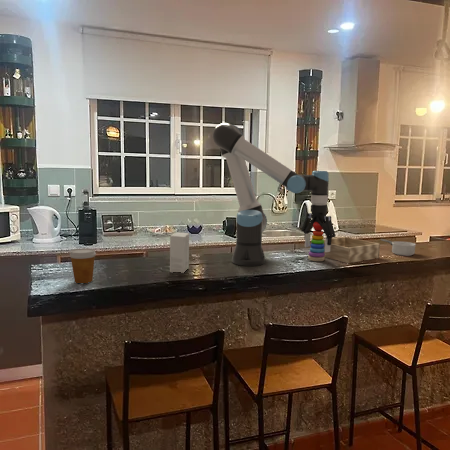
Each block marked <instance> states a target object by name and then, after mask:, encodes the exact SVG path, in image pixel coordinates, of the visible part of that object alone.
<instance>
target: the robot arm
mask: <svg viewBox="0 0 450 450" xmlns="http://www.w3.org/2000/svg"><path fill="white" fill-rule="evenodd" d="M212 140H213V142H214V143H213V144H215V145H216V147H218V148H219V151H220V154H221V157H222V158H225V160H226V163H227V167H228V170H229V174H230V177H231V181H232V184H233V187H234V191H235V193H236V197H237V198H236V199H237V201H238V204H239V207H238V210H237V214H236V217H235V218H236V219H235V221H236V226H235V227H236V230H235V231H236V232H235V234H236V236H235V237H236V238H235V240H236V241H235V247H234V250H233V254H232V257H231V262H232V263H233V264H234V265H238V266H243V267H244V266H245V267H246V266H247V267H254V266H255V267H256V266H261V265H264V264H265V263H266V257H265V253H264V249H263V244H262V240H263V232H264V231H265V229H266V228H267V225H268V223H267V222H268V219H267V216H266V214H265V212H264V210H263V206H262V204H261V203H260V202H258V200H257V198H256V197H257V196H256V194H255V190H254V186H253V183H252V179H251V176H250V172H249V169H248V166H247V163H248V164H250V165H252V166H253V167H255V168H256V169H257V170H259V171H261V172H262V173H263V174H265V175H267V176H269V177H270V178H271V179H273V180H274V181H276V182H277V183H279V184H281V185H282V186H283V187H285V190H286V191H290V192H291V193H293V194H299V193H300V194H301V192H311V193H310V194H311V195H310V196H311V198H310V203H311V204H310V212H308V213H306V215H305V216H306V217H305V220H304V223H303V225H302V228H301V229H300V231H301V232H303V233H304V235H303V236H304V248H311V246H310V245H311V230H313V229H314V228H313V224H314V222H318V223H319V224H320V226H321V227H322V229H323V230H322V231H323V232H324V235H325V237H324V239H325V252H330V245H331V242H332V238H336V237H337V236H336V232H335V229H334V225H333V222H332V216H331V215H326V214H327V213H328V200H329V199H328V198H329V197H328V196H329V184H330V183H329V180H330V178H329V175H330V174H329V172H328V171H327V170H313V171H312V172H311V174H298V173H296V172H295V171H294V170H292V169H290V168H289V167H287V165H284V163H283V164H282V163H281V162H280V161H278V160H277V159H276V158H274V157H272V156H271V155H269V154H268V153H267V152H264V150H261V149H260V148H259V147H257V146H255V145H254V144H252V142H250V141H248V140H246V139H245V135H244V134H243V131H242V130H241V128H239V127H238V126H236V125H235V124H231V123H228V122H223V123H220V124H218V125H217V126H215V128H214V129H213V132H212Z"/></svg>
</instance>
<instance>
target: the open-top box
mask: <svg viewBox="0 0 450 450" xmlns="http://www.w3.org/2000/svg"><path fill="white" fill-rule="evenodd" d="M323 240H324V243H323V244H324V249H325V238H323ZM380 249H381V243H378V242H372V241H368V240H363V239H358V238H352V237H347V236H341V237H333V238H332V242H331V245H330V252H325V251H324V253H325V255H324V256H325V259H326V258H327V259H331V260H334V261H339V262H343V263H345V264H351V263H357V262H363V260H364V261H369V260H376V259H380V251H381V250H380ZM375 258H376V259H375Z"/></svg>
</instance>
